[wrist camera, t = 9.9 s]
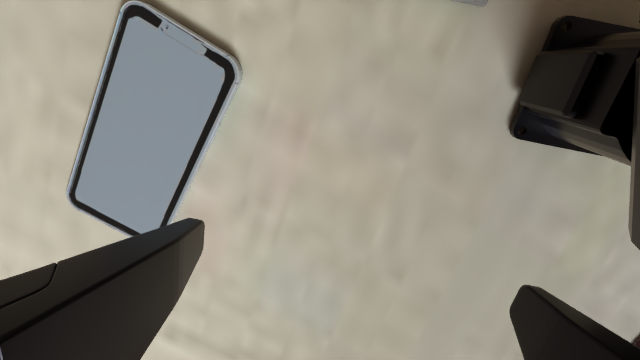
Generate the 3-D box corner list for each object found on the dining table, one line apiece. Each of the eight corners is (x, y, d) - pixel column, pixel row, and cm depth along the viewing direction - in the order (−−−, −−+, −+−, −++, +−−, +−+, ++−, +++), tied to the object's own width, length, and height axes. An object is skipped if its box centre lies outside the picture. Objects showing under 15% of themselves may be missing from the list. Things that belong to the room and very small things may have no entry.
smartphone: (62, 202, 23) (124, -9, 17) (72, 196, 24) (135, -6, 18) (158, 251, 24) (245, 66, 18) (164, 244, 25) (250, 66, 19)
